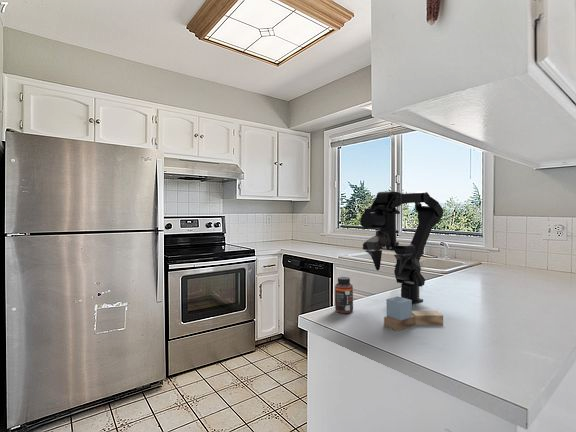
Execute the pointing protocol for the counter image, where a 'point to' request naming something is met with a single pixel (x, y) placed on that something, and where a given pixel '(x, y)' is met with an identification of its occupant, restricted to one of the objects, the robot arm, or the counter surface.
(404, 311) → the cube
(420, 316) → the brick
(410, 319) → the base brick
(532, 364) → the counter surface
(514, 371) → the counter surface
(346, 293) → the supplement bottle
